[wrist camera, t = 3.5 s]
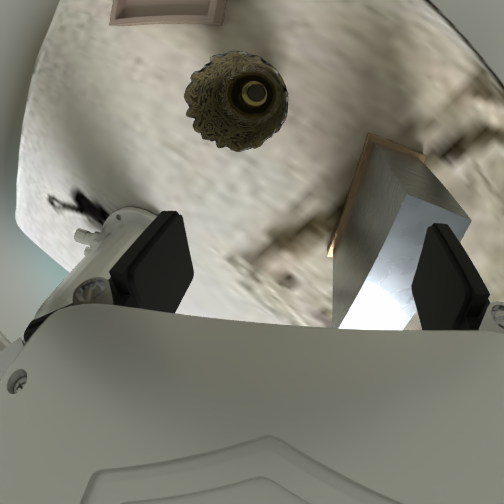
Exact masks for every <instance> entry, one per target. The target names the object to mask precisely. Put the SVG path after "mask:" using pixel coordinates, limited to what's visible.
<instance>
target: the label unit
mask: <svg viewBox="0 0 504 504" xmlns="http://www.w3.org/2000/svg"><path fill="white" fill-rule="evenodd" d="M425 158H426V156H425V155H424V154H422V153H420V152H418V151H415V150H413V149H410V148H408V147H405V146H403V145H400V144H398V143H395V142H392V141H390V140H387V139H384V138H382V137H379V136H376V135H373V134H370V133H368V135H367V138H366V142H365V145H364V148H363V151H362V154H361V157H360V160H359V164H358V167H357V170H356V173H355V176H354V179H353V181H352V184H351V187H350V190H349V193H348V196H347V199H346V202H345V204H344V207H343V210H342V213H341V215H340V218H339V221H338V224H337V226H336V229H335V232H334V234H333V237H332V240H331V242H330V245H329V247H328V250H327V256H330V257H333V318H332V328H342V329H369V330H403V329H404V327H405V326H406V325H407V323H408V322H409V321H410V319H411V318H412V316H413V315H414V314H415V312H416V311H417V308H416V304H415V301H414V298H413V295H412V289H411V288H412V282H413V278H414V275H415V272H416V269H417V265H418V262H419V258H420V255H421V251H422V247H423V243H424V239H425V235H426V231H427V228H428V227H429V226H432V224H433V223H442V224H448V225H449V227H450V228H451V230H452V231H453V233H454V234H455V236H456V237H457V239H458V240H459V242H460V241H461V240H462V238H463V236H464V234H465V232H466V230H467V229H468V227H469V225H470V223H471V219H470V218H469V217H468V215H467V214H466V213H465V211H464V210H463V209H462V208H461V206H460V205H459V204H458V202H457V201H456V200H455V199H454V198H453V196H452V195H451V194H450V193H449V191H448V190H447V189H446V188H445V187H444V186H443V184H442V183H441V182H440V181H439V180H438V179H437V177H436V176H435V175H434V174H433V173H432V172H431V171H430V170H429V169H428V167H427V166H426V165H425V164H424V161H425Z"/></svg>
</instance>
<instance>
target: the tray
mask: <svg viewBox="0 0 504 504" xmlns="http://www.w3.org/2000/svg"><path fill="white" fill-rule="evenodd" d="M226 1H227V0H113V5H112V10H111V17H110V24H109V25H110V26H131V25H145V24H211V25H222V22H223V17H224V11H225V6H226Z"/></svg>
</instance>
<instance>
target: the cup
mask: <svg viewBox="0 0 504 504" xmlns="http://www.w3.org/2000/svg"><path fill="white" fill-rule="evenodd" d="M190 79H191V83H190V84H189V85H188V86H187V88H186V91H185V94H184V98H185V101H186V103H187V104H188V105H189V108H188V110H187V112H186V116H187V117H191V118H195V120H194V123H193V128H194V130H195V131H196V132H197V133H201V135H202V139H205V140H210V141H216V145H217V147H218V148H223V147H228V148H230V150H233V151H236V152H242V151H245V150H248V149H251V148H254V149H255V148H258V147H260V146H261V145H262V144H263V142H264V141H265V140H267V139H268V138H270V137H272V135H273V134H274V133H276V132H278V131H279V130H280V128H281V126H282V124H283V123H284V122H285V120H286V117H287V112H288V92H287V89H286V85H285V83H284V81H283V79H282V77H281V76H280V74H279V73H278V71H277V70H276V69H275V68H274V67H273V66H272V65H271V64H269V63H268V62H266V61H265V60H263V59H262V58H261V57H259V56H257V55H251V54H248V53H245V52H240V51H231V52H227V53H225V54H218V55H214V56H212V57H210V62H209V63H208V64H206V65H204V67H203V68H202V69H201V70H200V71H195V72H194V73H193V74H192V75H191V78H190ZM252 85H260V86H261V87H263V89H264V91H265V95H264V97H263V99H261V100H260V101H253V100H251V99H250V98H249V97H248V89H249V88H250V87H251V86H252Z"/></svg>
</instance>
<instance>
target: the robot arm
mask: <svg viewBox="0 0 504 504" xmlns="http://www.w3.org/2000/svg"><path fill="white" fill-rule="evenodd" d="M74 239H75V241H76V242H79V243H82V244H85V245H90V247H86V249H85V257H84V258H83V259H82V260H81V261H80V262H79V263H78V265H77V266H76V267H75V268H74V269H73V270H72V271H71V272H70V273H69V274H68V275H67V277H66V278H65V279H64V280H63V281H62V282H61V283H60V284H59V285H58V287H57V288H56V289H55V290H54V291H53V293H52V294H51V295H50V296H49V297H48V298H47V299H46V300H45V302H44V303H43V304H42V305H41V307H40V308H39V309H38V311H37V313H36V315H35V318H34V320H33V321H31V323H30V324H29V326H28V327H27V329H26V330H25V333H24V340H22V339H21V338H19V339H17V340H16V341H14V342H13V343H11V342H10V341H9V340H8V339H7V338H6V337H5V336H4V335H3V334H2V332H1V331H0V504H504V303H503V302H498V301H497V302H492V303H490V301H489V299H488V298H489V295H490V293H489V291H488V289H487V288H486V286H485V284H484V282H483V280H482V278H481V277H480V275H479V273H478V271H477V270H476V268H475V266H474V265H473V263H472V261H471V260H470V258H469V256H468V255H467V253H466V251H465V250H464V248H463V247H462V245H461V243H460V242H459V240H458V239H457V237H456V236H455V234H454V233H453V231H452V230H451V228H450V227H449V225H448V224H442V223H433V224H432V226H429V227H428V228H427V231H426V235H425V239H424V243H423V247H422V251H421V255H420V258H419V262H418V265H417V269H416V272H415V275H414V278H413V282H412V288H411V289H412V295H413V298H414V301H415V304H416V308H417V311H418V315H419V319H420V322H421V326H422V330H369V329H342V328H323V327H306V326H292V325H278V324H266V323H255V322H244V321H235V320H225V319H216V318H207V317H199V316H191V315H183V314H175V312H176V310H177V308H178V306H179V304H180V302H181V300H182V298H183V296H184V295H185V293H186V291H187V289H188V287H189V285H190V283H191V281H192V279H193V276H194V270H193V265H192V261H191V256H190V251H189V247H188V242H187V237H186V232H185V227H184V222H183V217H182V215H179V214H178V212H177V211H162V212H161V213H160V214H159V215H158V216H156V215H154V214H152V213H150V212H149V211H146V210H143V209H140V208H135V207H124V208H121V209H118V210H116V211H115V212H113V213H112V214H111V215H110V216H109V217H108V218H107V219H106V221H105V222H104V225H103V228H102V232H101V233H100V232H95V233H91V232H89V231H87V230H84V229H80V228H79V229H77V230H76V232H75V235H74Z"/></svg>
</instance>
